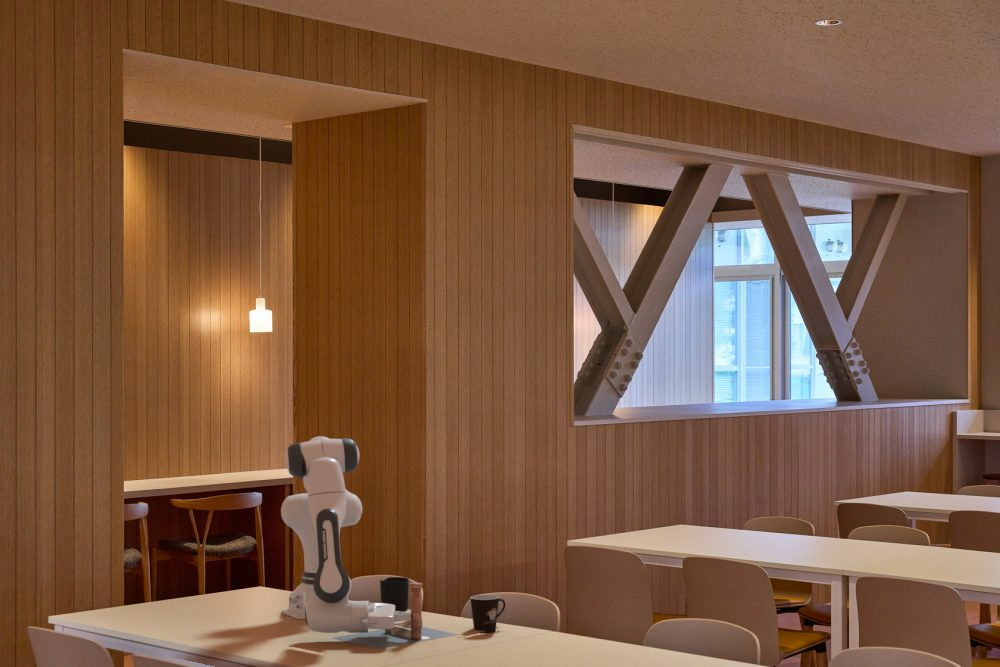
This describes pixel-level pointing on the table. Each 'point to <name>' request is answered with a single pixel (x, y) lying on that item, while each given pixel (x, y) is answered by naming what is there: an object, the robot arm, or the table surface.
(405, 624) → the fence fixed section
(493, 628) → the coffee mug
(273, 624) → the table surface
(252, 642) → the table surface
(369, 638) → the board
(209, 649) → the table surface
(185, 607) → the table surface
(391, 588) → the pen holder
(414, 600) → the brown wooden l-shaped piece
